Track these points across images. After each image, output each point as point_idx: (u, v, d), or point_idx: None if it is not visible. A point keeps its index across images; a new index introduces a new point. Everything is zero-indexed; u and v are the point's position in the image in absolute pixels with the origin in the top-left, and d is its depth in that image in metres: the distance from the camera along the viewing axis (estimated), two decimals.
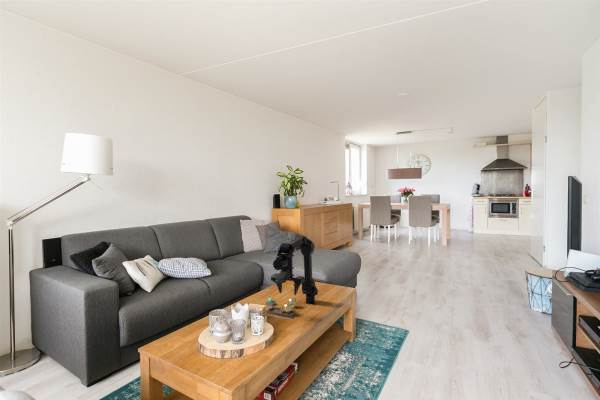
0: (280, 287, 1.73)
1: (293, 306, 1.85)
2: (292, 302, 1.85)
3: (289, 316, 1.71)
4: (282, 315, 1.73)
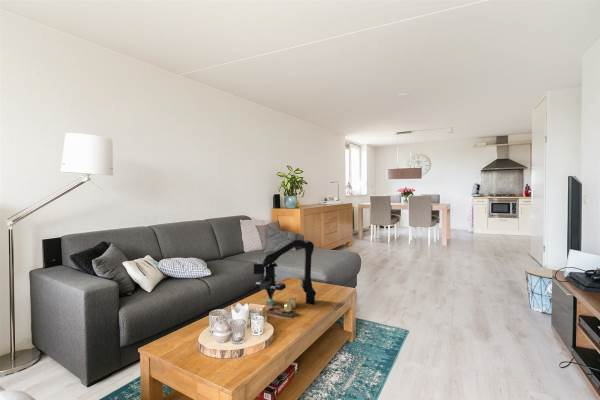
0: None
1: (293, 306, 1.85)
2: (292, 302, 1.85)
3: (289, 316, 1.71)
4: (282, 315, 1.73)
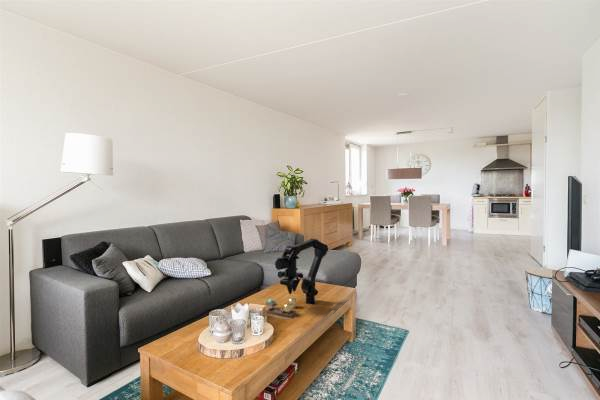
0: (294, 286, 1.89)
1: (293, 306, 1.85)
2: (292, 302, 1.85)
3: (289, 316, 1.71)
4: (282, 315, 1.73)
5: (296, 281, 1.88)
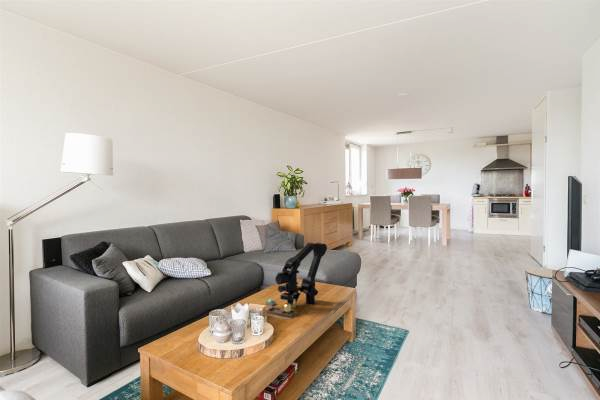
0: None
1: (293, 306, 1.85)
2: None
3: (289, 316, 1.71)
4: (282, 315, 1.73)
5: (296, 295, 1.88)
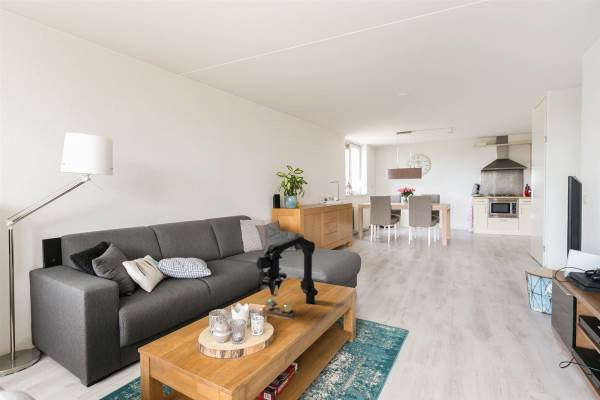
0: None
1: (275, 293, 1.78)
2: None
3: (289, 316, 1.71)
4: (282, 315, 1.73)
5: (279, 282, 1.81)
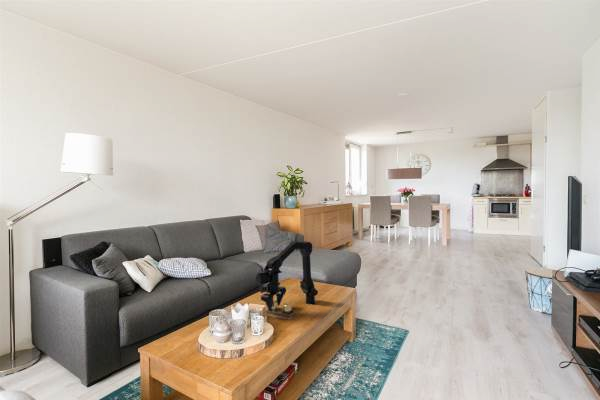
0: (278, 300, 1.84)
1: (275, 309, 1.78)
2: (274, 305, 1.78)
3: (289, 316, 1.71)
4: (282, 315, 1.73)
5: (280, 295, 1.84)
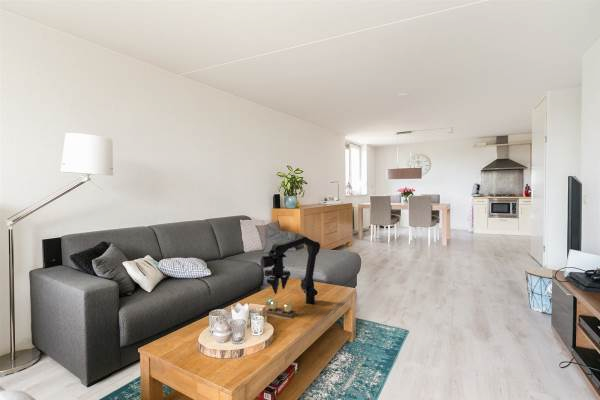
0: (283, 283, 1.90)
1: (275, 309, 1.78)
2: (274, 305, 1.78)
3: (289, 316, 1.71)
4: (282, 315, 1.73)
5: (285, 278, 1.89)
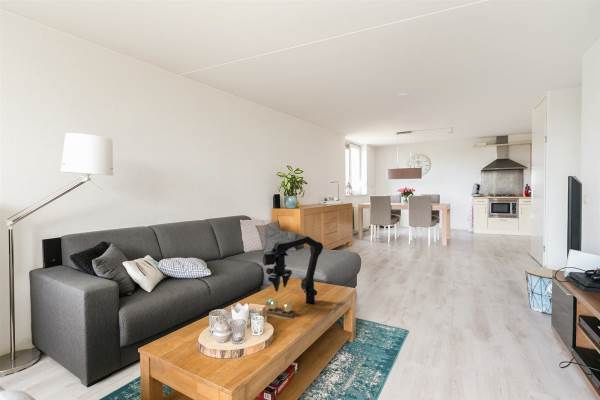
0: (284, 282, 1.91)
1: (275, 309, 1.78)
2: (274, 305, 1.78)
3: (289, 316, 1.71)
4: (282, 315, 1.73)
5: (286, 277, 1.91)
